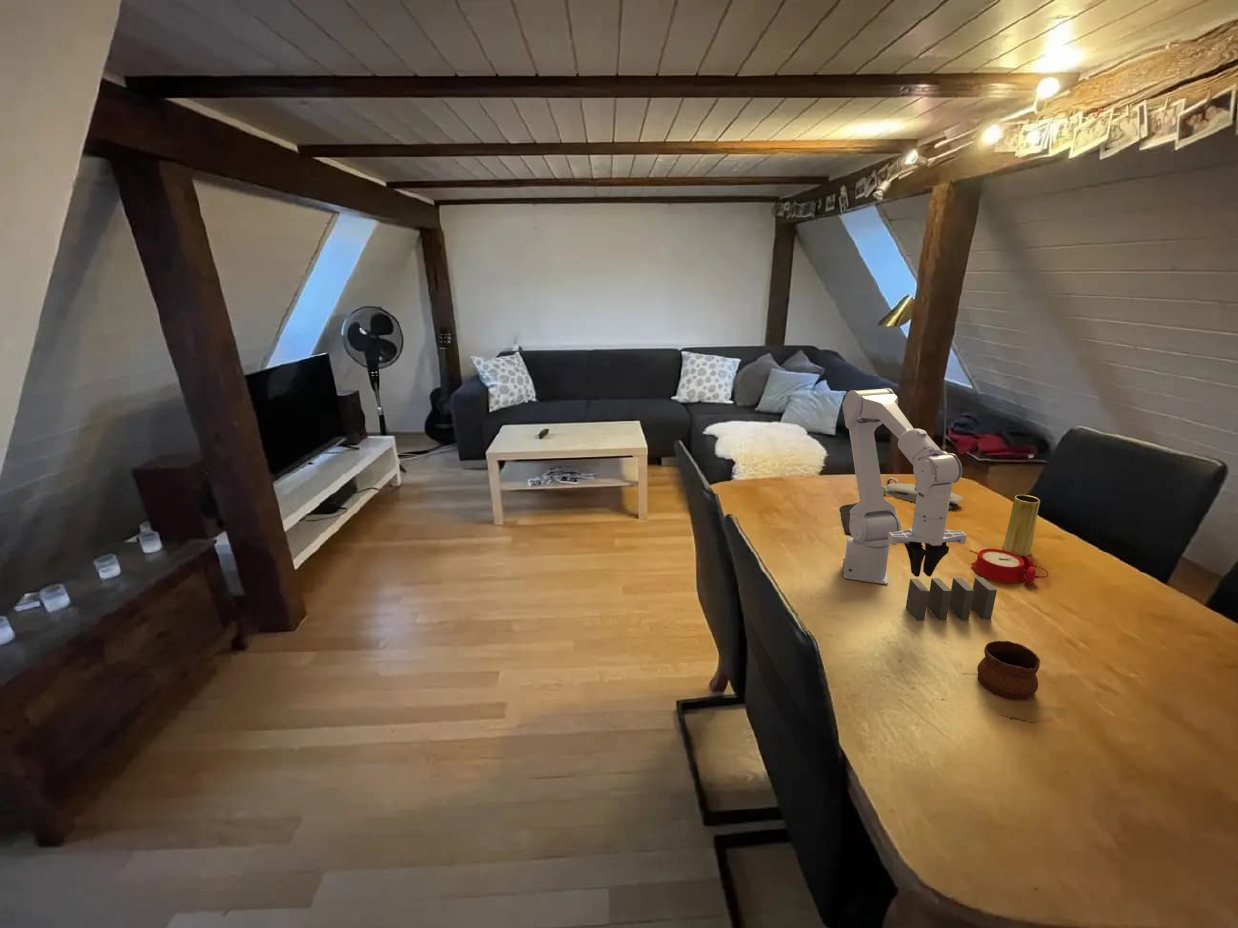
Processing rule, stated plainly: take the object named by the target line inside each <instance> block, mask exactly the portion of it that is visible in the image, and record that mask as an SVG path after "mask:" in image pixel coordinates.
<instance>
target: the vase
mask: <svg viewBox="0 0 1238 928" xmlns="http://www.w3.org/2000/svg"><path fill="white" fill-rule="evenodd" d="M1040 504H1041V499H1039V498H1038V497H1036V496H1033V495H1029V494H1028V495H1027V494H1017V495H1015V496H1014V499H1013V503H1012V508H1011V513H1010V516H1009V520H1008V526H1007V529H1006V534H1005V538H1004V541H1003V544H1002V546H1001V547H1002V548H1001V549H1002V550H1004V551H1007V552H1011V553H1013V554H1015V555H1017V556H1019V557H1021V556H1023V555H1024V556H1028V557H1029V556H1030V555H1031V553H1032V547H1033V544H1034V542H1033V541H1034V537H1035V531H1036V523H1037V519H1038V513H1039V508H1040Z"/></svg>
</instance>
